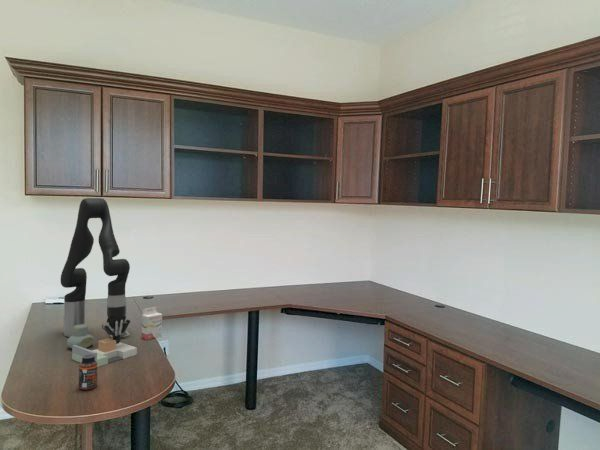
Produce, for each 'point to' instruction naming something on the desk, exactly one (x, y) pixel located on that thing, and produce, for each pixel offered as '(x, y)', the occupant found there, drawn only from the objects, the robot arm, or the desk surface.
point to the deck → (102, 357)
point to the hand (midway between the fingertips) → (116, 343)
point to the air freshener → (80, 337)
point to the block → (107, 345)
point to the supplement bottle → (88, 373)
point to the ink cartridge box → (151, 324)
